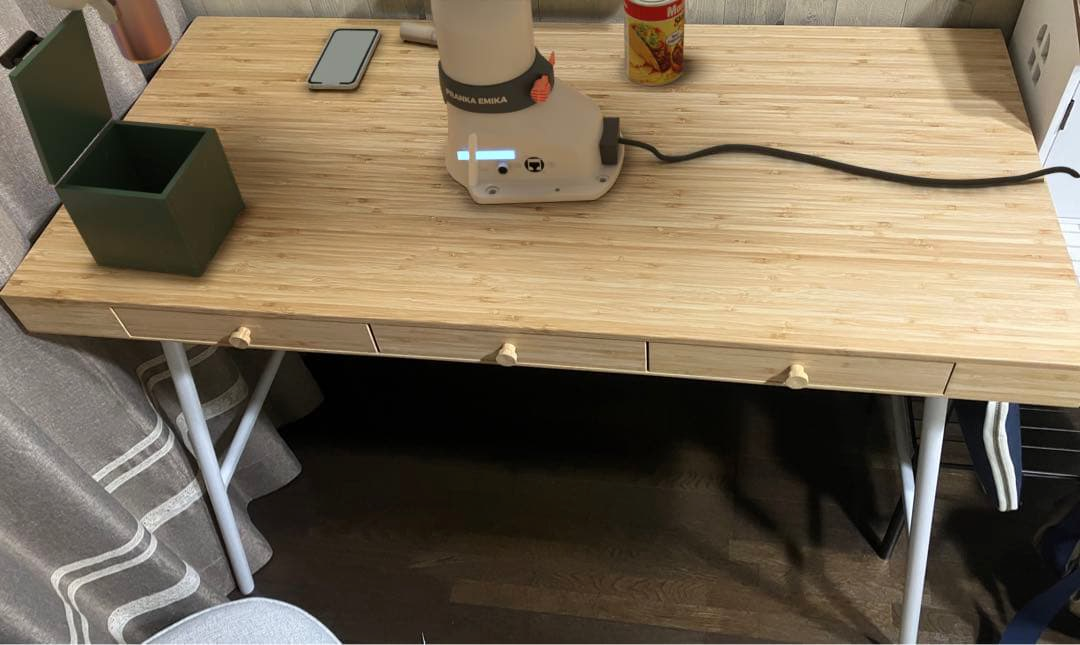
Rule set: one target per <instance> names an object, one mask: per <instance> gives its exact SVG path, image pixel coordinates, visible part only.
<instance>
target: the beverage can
mask: <svg viewBox="0 0 1080 645" xmlns="http://www.w3.org/2000/svg"><path fill="white" fill-rule="evenodd" d="M107 1H108V2H109V3H110V4H117V5H118V7H119V9H120V12H121V14H122V17H121V18H120V19H119V20H118V22H116V24H107V25H108V28H109V30H110V32H111V34H112V36H113V39H114V41H115V44H116V46H117V48H118V50H119V52H120V54H121V56H122V58H124V59H125V60H126V61H128V62H129V63H132V64H136V65H137V64H139V65H143V64H151V63H153V62H156V61H158V60H160V59H162V58H164V57H165V56H166V55H168V54H169V52H170V51H171V49H172V44H173V39H172V36H171V33H170V31H169V29H168V26H167V22H166V21H165V18H164V15H163V14H162V11H161V9H160V6H159V3H158V2H157V0H107Z"/></svg>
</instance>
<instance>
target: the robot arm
mask: <svg viewBox="0 0 1080 645" xmlns="http://www.w3.org/2000/svg"><path fill="white" fill-rule="evenodd" d="M44 1H45V3H46V4H47V5H48V6H49V7H51V8H53V9H55V10H59V11H70V12H71V11H78V10H81V9H82V10H83V9H84V8H85V7H86V6H87V5H89V6H90V7H91V8H93V9H94V10H95V11H97V13H98V16H99V18H100V20H101V22H103V23H104V24H105V25H108V24H116V22H118V20H119V19H120V18H121V17H122V14H121V12H120V9H119V7H118V5H117V4H110V3H109V2H108V1H107V0H44ZM430 10H431V15H432V21H433V26H434V27H435V33H436V39H437V44H438V45H437V49H438V55H439V60H438V61H437V69H438V81H439V87H440V91H441V94H442V100H443V103H444V104H445V105H446V114H447V139H446V148H445V149H446V150H445V155H444V165H445V169H446V170H447V173H448V174H449V175H450V177H451V178H452V179H453V180H455V181H456V182H457V183H459V184H460V185H462V186H463V187H464V188H466V189H467V190H468V194H469V195H470V197H471V198H472V200H473V201H474V202H475V203H477V204H480V205H493V204H494V205H495V204H517V203H518V204H520V203H521V204H523V203H525V204H526V203H548V202H550V203H551V202H554V203H555V202H577V201H578V202H580V201H581V202H582V201H594V200H598V199H600V198H601V197H603V196H604V195H605V194H607V192H608V191H609V190H610V189H611V188H612V187H613V185H614V184H615V183H616V181H617V179H618V177H619V175H620V172H621V170H622V167H623V165H624V164H623V163H624V159H625V151H626V150H625V146H630V147H635V148H640V149H643V150H646V151H648V152H649V153H651V154H652V155H654V156H655V157H656V158H657V159H658V160H659V161H663V162H668V163H680V162H686V161H690V160H694V159H697V158H701V157H704V156H707V155H710V154H714V153H717V152H724V151H749V152H757V153H758V152H759V153H765V154H770V155H776V156H780V157H785V158H791V159H796V160H802V161H807V162H811V163H815V164H820V165H825V166H828V167H832V168H835V169H840V170H844V171H848V172H852V173H853V172H854V173H856V174H862V175H867V176H872V177H879V178H883V179H888V180H894V181H900V182H906V183H911V184H912V183H913V184H922V185H931V186H932V185H933V186H950V187H951V186H953V187H954V186H955V187H963V186H964V187H965V186H966V187H967V186H985V185H998V184H1011V183H1020V182H1025V181H1030V180H1033V179H1037V178H1041V177H1043V176H1048V175H1053V174H1059V173H1060V174H1067V175H1069V176H1071V177H1072V178H1074V179H1080V172H1078V171H1077V170H1075V169H1074V168H1071V167H1068V166H1064V165H1059V166H1058V165H1057V166H1050V167H1045V168H1043V169H1039V170H1036V171H1031V172H1028V173H1024V174H1019V175H1018V174H1017V175H1010V176H997V177H985V178H968V179H967V178H965V179H963V178H959V179H958V178H957V179H956V178H953V179H952V178H935V177H934V178H933V177H923V176H915V175H909V174H908V175H906V174H901V173H894V172H889V171H885V170H879V169H874V168H868V167H863V166H858V165H853V164H849V163H845V162H841V161H836V160H833V159H830V158H824V157H820V156H817V155H812V154H807V153H801V152H796V151H791V150H785V149H780V148H775V147H770V146H763V145H756V144H746V143H725V144H719V145H715V146H710V147H707V148H704V149H700V150H699V151H698V150H697V151H695V152H691V153H688V154H684V155H668V154H667V155H666V154H662V152H661V151H659V150H658V149H657V148H656V147H655V146H653V145H652V144H649V143H646V142H643V141H640V140H636V139H635V140H634V139H630V138H624V136H623V133H622V132H621V120H620V118H621V117H620V116H619V117H618V116H616V117H615V116H613V117H611V116H609V117H607V116H606V117H605V116H603V113H602V110H601V108H600V105H599V104H598V103H597V101H596V100H594V98H593V97H591V96H589V95H587V94H586V93H584V92H582V91H580V90H578V89H577V88H575V87H573V86H571V85H570V84H568V83H567V82H566V81H563V80H562V79H560V78H559V77H557V76H555V69H554V66H555V64H556V58H555V51H553V50H552V51H551V53H550V56H549V59H547V58H546V57H545V56H543V54H541V52H540V51H539V49H538V48H537V46H536V44H535V31H534V30H535V29H534V20H533V9H532V0H430Z"/></svg>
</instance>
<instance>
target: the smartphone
mask: <svg viewBox="0 0 1080 645" xmlns="http://www.w3.org/2000/svg"><path fill="white" fill-rule="evenodd" d="M381 36H382V33H381V30H380V28H377V27H338V28H335V29H333V30H332V31H331V33H330V35H329V36H328V38H327V41H326V42H325V45H324V46H323V48H322V50H321V52H320V54H319V56H318V58H317V60H316V62H315V64H314V65H313V67H312V69H311V71H310V73H309V75H308V77H307V79H306V86H307V88H309V89H310V90H311V89H313V90H353V89H355V88H357V87H358V86H359V84H360V81H361V80H362V77H363V75H364V73H365V70H366V68H367V66H368V64H369V61H370V60H371V57H372V55H373V53H374V51H375V49H376V46H377V45H378V42H379V40H380V38H381Z"/></svg>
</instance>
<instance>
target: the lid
mask: <svg viewBox="0 0 1080 645" xmlns="http://www.w3.org/2000/svg"><path fill="white" fill-rule="evenodd" d="M0 66H2V67H3V68H4V69H5V70H10V72H9V73H8V74H7V77H8V79H9V82H10V84H11V87H12V90H13V93H14V95H15V99H17V100H16V101H17V104H18V105H19V109H20V111H21V113H22V116H23V119H24V122H25V124H26V128H27V130H28V133H29V135H30V138H31V140H32V142H33V146H34V149H35V151H36V154H37V157H38V159H39V162H40V165H41V167H42V170H43V173H44V176H45V178H46V181H47V184H48V185H51V186H52V185H53V186H56V185H57V184H58V183H59V182H60V180H61V179H62V178H63V177H64V176H65V174H66V173H67V172H68V171H69V170H70V169H71V167H72V166H73V165H74V164H75V163H76V161H77V160H78V159H79V158H80V157H81V155H82V154H83V153H84V152H85V151H86V149H87V148H88V147H89V146H90V145H91V143H92V142H93V141H94V140H95V139H96V137H97V136H98V135H99V134H100V133H101V131H102V130H103V129H104V128H105V127H106V125H107V124H109V122H110V121H111V120H112V118H113V116H114V115H113V112H112V108H111V105H110V102H109V98H108V95H107V91H106V88H105V85H104V81H103V77H102V74H101V71H100V70H101V69H100V67H99V63H98V60H97V57H96V53H95V49H94V45H93V43H92V40H91V36H90V32H89V29H88V26H87V22H86V19H85V15H84V11H83V9H81V10H78V11H71V10H70V12H69V13H68V14H67V15H66V16H65V17H64V18H63V19H62V20H61V21H60V22H58V24H57V25H56V26H55V27H54V28H53V29H52V30H51V31H50V32H49V33H48V34H47V35H46V36H45V37H43V36H39V35H38V33H37V32H35V31H33V30H32V29H28V30H26V31H25V32H23V33H22V34H21V35H20V36H19V37H18V38H17V39H16V40H15V41H14V42H13V43H12V44H11V45H10V46H9V47H8V48H7V49H6V50H5V51H4V52H3V53H2V54H1V55H0ZM11 70H12V71H11Z"/></svg>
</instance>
